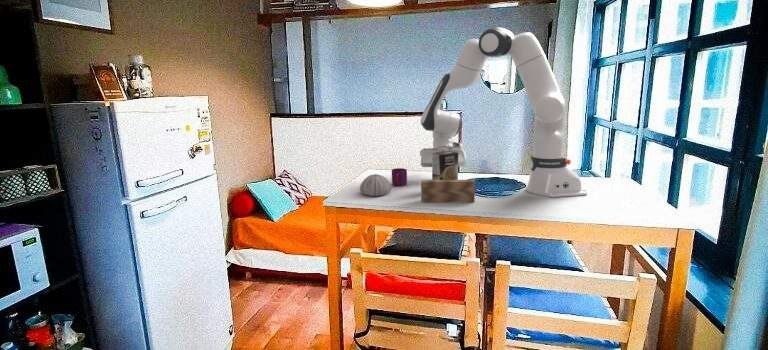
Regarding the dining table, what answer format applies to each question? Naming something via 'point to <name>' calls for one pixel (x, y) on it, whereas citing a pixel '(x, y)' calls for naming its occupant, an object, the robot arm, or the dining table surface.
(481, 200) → the dining table surface
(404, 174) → the mug
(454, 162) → the coffee box
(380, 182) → the sea urchin shell
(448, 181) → the brown rectangular block
